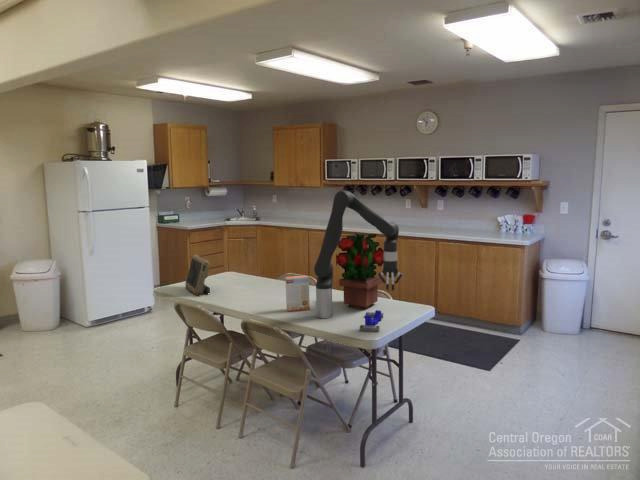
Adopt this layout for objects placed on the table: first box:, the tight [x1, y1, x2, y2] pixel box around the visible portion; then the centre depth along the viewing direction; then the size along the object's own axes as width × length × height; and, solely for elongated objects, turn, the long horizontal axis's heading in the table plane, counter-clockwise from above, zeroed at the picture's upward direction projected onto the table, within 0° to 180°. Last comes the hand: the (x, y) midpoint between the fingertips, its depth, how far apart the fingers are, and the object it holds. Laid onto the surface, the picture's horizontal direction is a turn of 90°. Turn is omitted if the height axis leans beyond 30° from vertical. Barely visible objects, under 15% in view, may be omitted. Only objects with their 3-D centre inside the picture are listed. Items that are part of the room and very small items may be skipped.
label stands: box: [359, 311, 384, 333], centre depth 267 cm, size 10×28×2 cm, turn 168°
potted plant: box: [335, 232, 384, 310], centre depth 300 cm, size 22×22×45 cm
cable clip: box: [364, 309, 382, 326], centre depth 267 cm, size 12×4×6 cm, turn 142°
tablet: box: [184, 253, 211, 297], centre depth 348 cm, size 33×14×25 cm, turn 33°
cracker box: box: [284, 275, 311, 313], centre depth 295 cm, size 14×6×21 cm, turn 100°
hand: (390, 290), depth 262 cm, fingers closed
